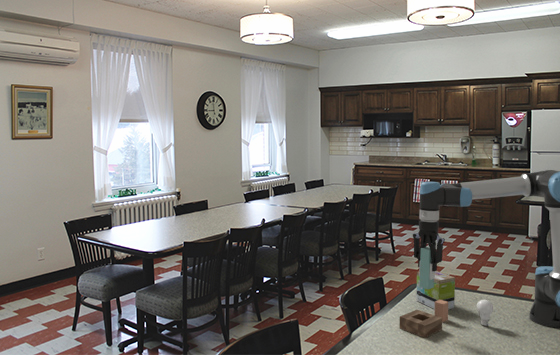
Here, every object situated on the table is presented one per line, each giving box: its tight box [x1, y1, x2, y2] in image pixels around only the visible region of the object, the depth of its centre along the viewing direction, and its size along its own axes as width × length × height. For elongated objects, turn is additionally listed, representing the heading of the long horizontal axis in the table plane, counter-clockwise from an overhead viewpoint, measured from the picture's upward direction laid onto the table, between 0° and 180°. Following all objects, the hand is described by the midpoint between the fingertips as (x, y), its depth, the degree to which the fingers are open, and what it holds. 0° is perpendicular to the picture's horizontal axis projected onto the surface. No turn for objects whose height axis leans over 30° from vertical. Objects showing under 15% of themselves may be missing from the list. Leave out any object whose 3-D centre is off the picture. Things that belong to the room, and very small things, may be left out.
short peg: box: [434, 300, 449, 323], centre depth 198 cm, size 4×4×8 cm
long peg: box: [419, 246, 434, 289], centre depth 186 cm, size 4×4×16 cm
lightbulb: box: [476, 298, 494, 327], centre depth 191 cm, size 6×6×11 cm
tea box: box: [416, 270, 456, 310], centre depth 215 cm, size 15×10×15 cm, turn 25°
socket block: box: [399, 309, 443, 339], centre depth 188 cm, size 12×12×5 cm
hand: (426, 277), depth 187 cm, fingers closed on long peg, 4 cm apart
